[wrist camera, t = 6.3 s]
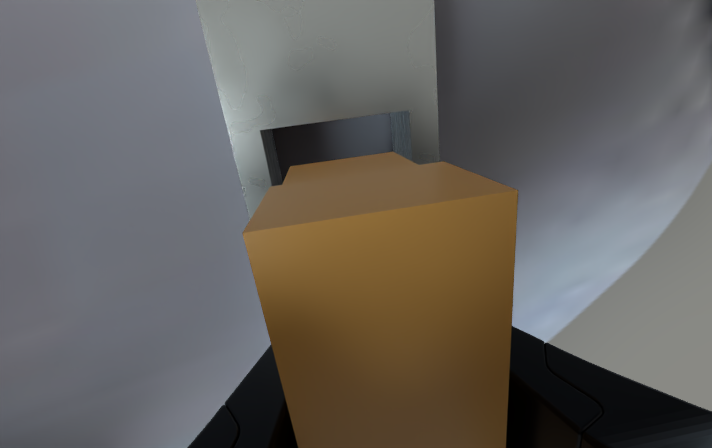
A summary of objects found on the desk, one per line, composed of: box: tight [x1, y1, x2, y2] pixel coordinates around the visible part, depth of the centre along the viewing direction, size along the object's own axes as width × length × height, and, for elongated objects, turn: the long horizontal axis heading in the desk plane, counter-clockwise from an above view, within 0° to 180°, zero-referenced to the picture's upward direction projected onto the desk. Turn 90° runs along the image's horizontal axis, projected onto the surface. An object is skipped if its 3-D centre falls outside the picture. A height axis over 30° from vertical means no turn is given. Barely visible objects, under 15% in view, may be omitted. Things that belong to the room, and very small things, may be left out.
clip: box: [243, 152, 518, 448], centre depth 8 cm, size 8×3×6 cm, turn 7°
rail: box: [195, 0, 440, 219], centre depth 14 cm, size 18×7×3 cm, turn 7°
